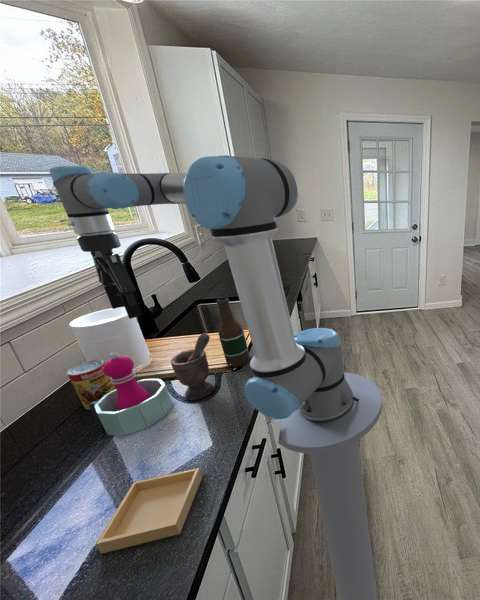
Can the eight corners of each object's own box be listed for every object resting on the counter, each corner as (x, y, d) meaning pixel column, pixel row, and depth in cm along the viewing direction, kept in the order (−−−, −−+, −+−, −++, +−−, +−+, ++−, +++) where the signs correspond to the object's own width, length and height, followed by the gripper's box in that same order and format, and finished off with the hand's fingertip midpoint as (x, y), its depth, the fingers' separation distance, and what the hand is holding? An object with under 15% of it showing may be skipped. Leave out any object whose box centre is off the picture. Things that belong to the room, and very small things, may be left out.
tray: (202, 476, 68) (199, 467, 67) (179, 534, 57) (175, 524, 56) (138, 490, 65) (133, 481, 64) (101, 553, 54) (95, 544, 53)
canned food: (105, 408, 91) (88, 373, 86) (76, 410, 90) (58, 375, 86) (125, 391, 98) (111, 358, 94) (99, 393, 98) (83, 360, 93)
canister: (154, 351, 122) (136, 303, 114) (148, 370, 109) (128, 318, 102) (100, 364, 114) (78, 314, 107) (88, 386, 101) (61, 331, 94)
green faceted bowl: (180, 393, 96) (173, 374, 93) (156, 429, 82) (147, 407, 79) (115, 404, 92) (106, 384, 90) (80, 443, 78) (68, 421, 76)
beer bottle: (254, 360, 112) (239, 298, 103) (231, 370, 106) (213, 305, 98) (245, 353, 117) (230, 293, 108) (223, 362, 111) (205, 299, 103)
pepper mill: (116, 426, 83) (86, 362, 76) (134, 408, 90) (107, 347, 83) (146, 422, 84) (119, 358, 77) (161, 404, 91) (137, 344, 84)
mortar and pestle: (229, 379, 101) (213, 324, 94) (224, 395, 94) (206, 336, 86) (188, 388, 98) (168, 331, 91) (180, 405, 90) (157, 345, 83)
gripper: (64, 233, 82) (96, 307, 90) (90, 239, 68) (125, 326, 76) (101, 229, 88) (128, 299, 95) (132, 233, 74) (160, 315, 82)
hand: (127, 311), depth 86 cm, fingers open, 13 cm apart
